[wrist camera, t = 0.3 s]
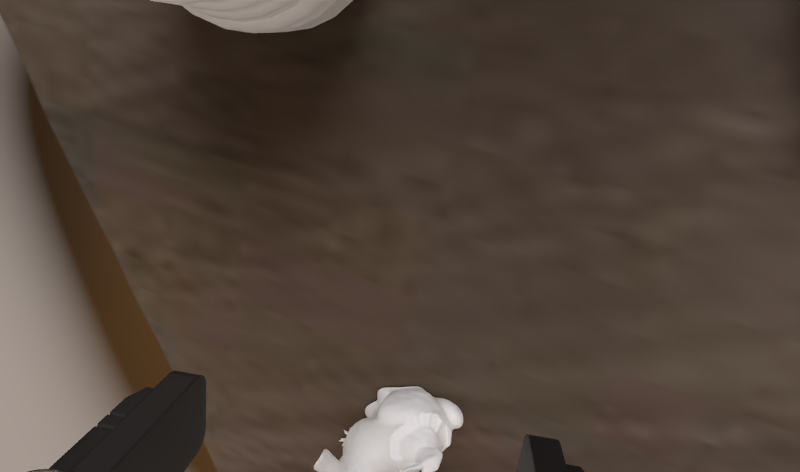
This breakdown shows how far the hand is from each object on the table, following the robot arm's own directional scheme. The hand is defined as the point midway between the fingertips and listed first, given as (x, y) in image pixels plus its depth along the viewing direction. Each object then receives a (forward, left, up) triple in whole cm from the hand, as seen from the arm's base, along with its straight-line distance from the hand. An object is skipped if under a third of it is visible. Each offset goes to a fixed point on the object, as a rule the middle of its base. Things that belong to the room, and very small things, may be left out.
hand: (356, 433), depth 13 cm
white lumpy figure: (+16, +13, -24) cm, 31 cm away
